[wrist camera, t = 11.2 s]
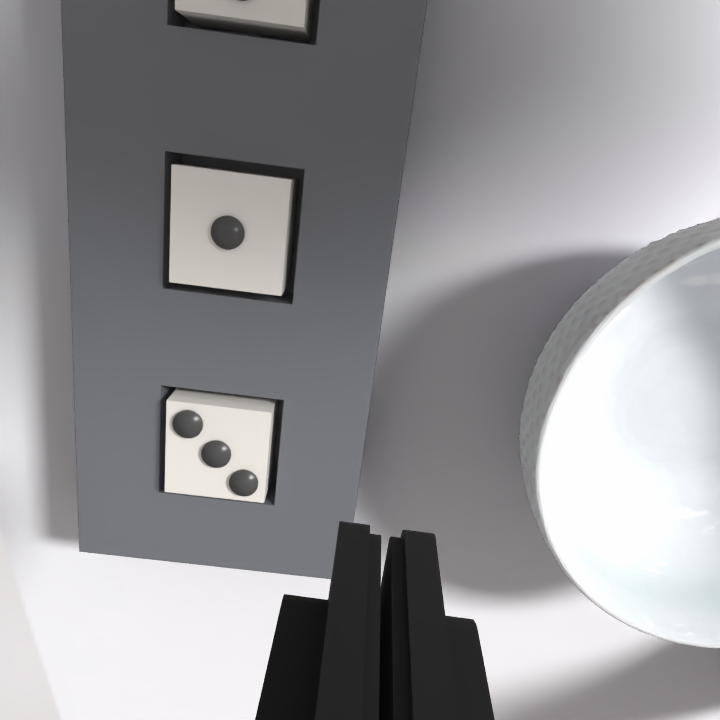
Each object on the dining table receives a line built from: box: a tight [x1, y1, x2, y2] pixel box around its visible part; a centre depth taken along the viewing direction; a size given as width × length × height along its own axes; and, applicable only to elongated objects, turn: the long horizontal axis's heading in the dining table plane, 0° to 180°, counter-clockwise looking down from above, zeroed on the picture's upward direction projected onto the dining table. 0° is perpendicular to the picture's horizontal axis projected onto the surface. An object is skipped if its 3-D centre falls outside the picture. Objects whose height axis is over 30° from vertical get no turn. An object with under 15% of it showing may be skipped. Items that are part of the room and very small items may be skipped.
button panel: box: [61, 0, 427, 579], centre depth 23 cm, size 30×12×3 cm, turn 173°
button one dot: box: [169, 164, 298, 296], centre depth 22 cm, size 4×4×3 cm
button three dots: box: [165, 387, 279, 503], centre depth 25 cm, size 4×4×2 cm
